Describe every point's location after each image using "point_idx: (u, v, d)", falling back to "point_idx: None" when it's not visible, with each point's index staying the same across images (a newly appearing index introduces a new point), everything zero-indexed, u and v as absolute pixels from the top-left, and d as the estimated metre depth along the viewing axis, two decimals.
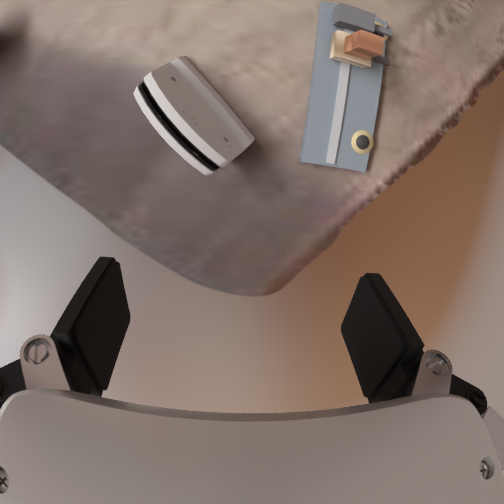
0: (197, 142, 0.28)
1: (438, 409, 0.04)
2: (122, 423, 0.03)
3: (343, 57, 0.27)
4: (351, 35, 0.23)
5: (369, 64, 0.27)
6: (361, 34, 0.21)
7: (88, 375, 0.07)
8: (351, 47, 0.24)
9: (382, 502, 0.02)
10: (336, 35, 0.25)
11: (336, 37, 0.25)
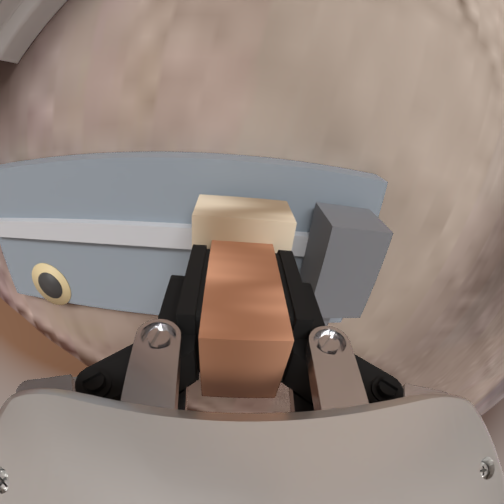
0: None
1: (438, 409, 0.04)
2: (122, 423, 0.03)
3: (195, 240, 0.11)
4: (273, 277, 0.09)
5: None
6: (266, 342, 0.07)
7: (196, 357, 0.08)
8: (216, 281, 0.09)
9: (382, 502, 0.02)
10: (276, 218, 0.11)
11: (267, 216, 0.11)
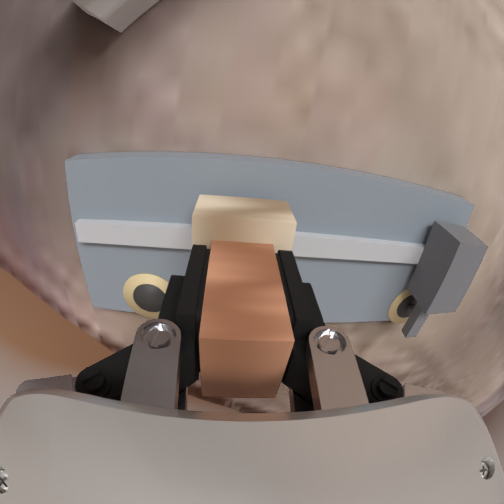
0: None
1: (438, 409, 0.04)
2: (122, 423, 0.03)
3: (195, 240, 0.11)
4: (273, 277, 0.09)
5: None
6: (267, 343, 0.07)
7: (196, 357, 0.08)
8: (217, 281, 0.09)
9: (382, 502, 0.02)
10: (276, 218, 0.11)
11: (267, 216, 0.11)
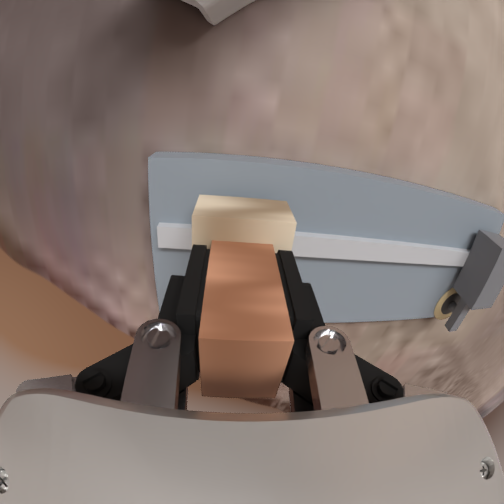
0: None
1: (438, 409, 0.04)
2: (122, 423, 0.03)
3: (195, 240, 0.11)
4: (273, 277, 0.09)
5: None
6: (267, 343, 0.07)
7: (196, 357, 0.08)
8: (216, 281, 0.09)
9: (382, 502, 0.02)
10: (276, 218, 0.11)
11: (267, 216, 0.11)
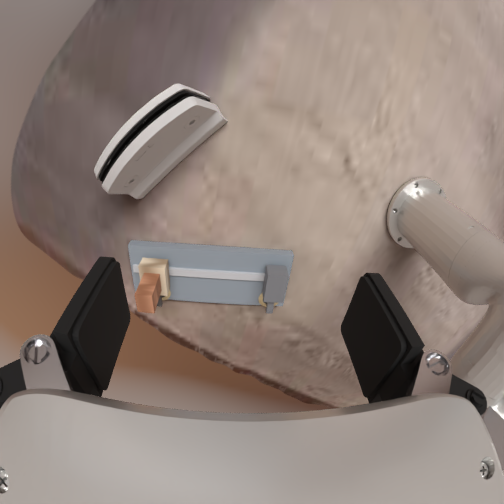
0: (117, 165, 0.26)
1: (438, 409, 0.04)
2: (122, 423, 0.03)
3: (140, 272, 0.38)
4: (154, 283, 0.36)
5: None
6: (146, 296, 0.34)
7: (88, 375, 0.07)
8: (141, 283, 0.36)
9: (382, 502, 0.02)
10: (159, 267, 0.38)
11: (157, 266, 0.38)
